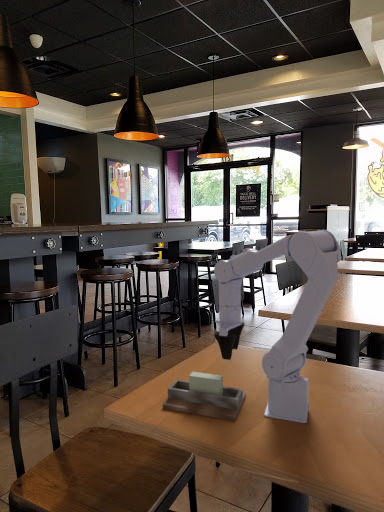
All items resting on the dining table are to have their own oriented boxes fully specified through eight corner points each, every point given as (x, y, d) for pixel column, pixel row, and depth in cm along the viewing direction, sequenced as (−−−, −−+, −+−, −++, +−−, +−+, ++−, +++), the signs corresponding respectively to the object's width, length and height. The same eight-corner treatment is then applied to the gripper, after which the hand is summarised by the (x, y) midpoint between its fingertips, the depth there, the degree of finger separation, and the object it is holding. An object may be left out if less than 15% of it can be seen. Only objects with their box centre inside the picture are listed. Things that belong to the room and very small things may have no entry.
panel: (222, 398, 93) (222, 375, 92) (220, 403, 90) (220, 380, 90) (192, 393, 95) (192, 371, 95) (189, 398, 93) (189, 375, 92)
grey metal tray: (245, 396, 96) (245, 383, 95) (234, 421, 84) (234, 406, 84) (180, 386, 102) (180, 374, 101) (162, 408, 91) (162, 394, 90)
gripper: (222, 297, 107) (223, 343, 108) (207, 310, 93) (208, 362, 95) (246, 299, 104) (246, 345, 106) (234, 312, 91) (235, 365, 92)
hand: (230, 353), depth 100 cm, fingers open, 7 cm apart
